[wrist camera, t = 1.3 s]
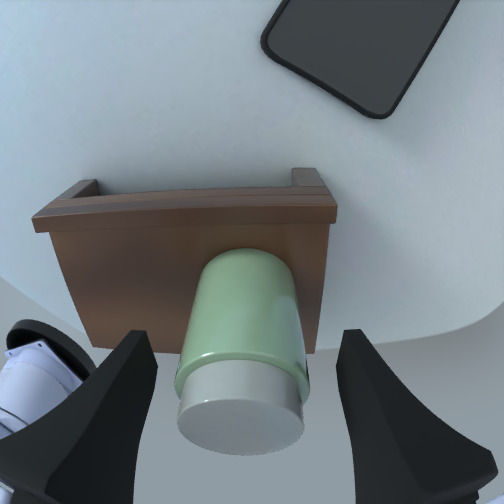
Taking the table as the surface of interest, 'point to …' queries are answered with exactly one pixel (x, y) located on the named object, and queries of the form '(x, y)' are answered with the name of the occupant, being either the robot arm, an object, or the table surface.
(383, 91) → the smartphone
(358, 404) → the robot arm
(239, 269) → the shaker
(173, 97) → the table surface
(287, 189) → the shelf
